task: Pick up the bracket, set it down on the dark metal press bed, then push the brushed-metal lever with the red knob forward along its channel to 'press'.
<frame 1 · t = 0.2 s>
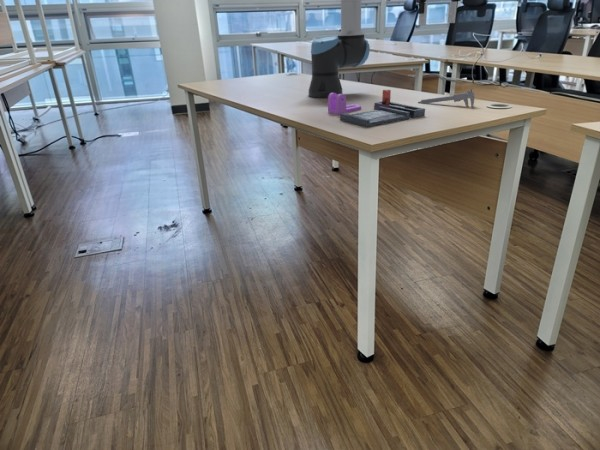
hand: (436, 23, 143), 28 cm above the table, fingers open, 13 cm apart
lever: (392, 100, 149), point 4 cm above the table, slide at 0.0 cm
caliper: (444, 105, 158), on the table
bracket: (346, 111, 155), on the table
press bed: (374, 119, 140), on the table
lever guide: (398, 112, 149), on the table
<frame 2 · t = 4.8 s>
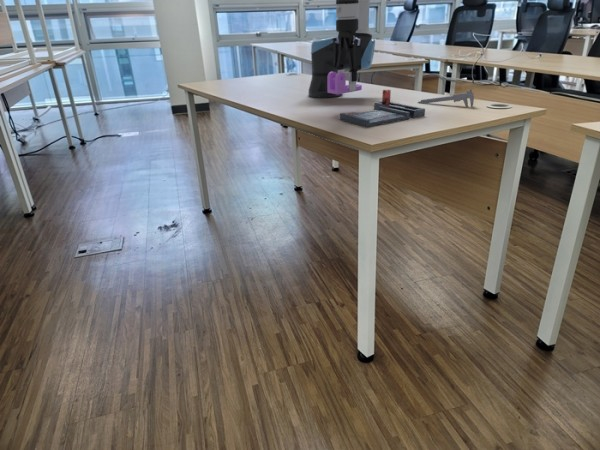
hand: (346, 89, 152), 7 cm above the table, fingers closed on bracket, 6 cm apart
bracket: (346, 91, 153), point 7 cm above the table, touching gripper
everything else where it was.
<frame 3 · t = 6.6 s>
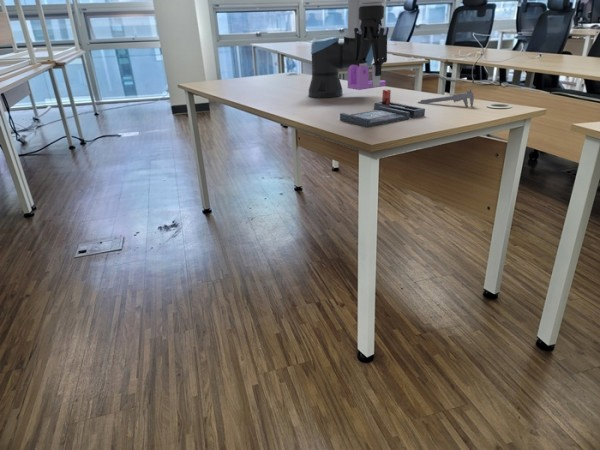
hand: (369, 85, 136), 11 cm above the table, fingers closed on bracket, 6 cm apart
bracket: (368, 87, 137), point 10 cm above the table, touching gripper
everything else where it was.
when the fingers open (2 cm above the table, at t = 8.4 s): bracket stays where it is, resting on press bed.
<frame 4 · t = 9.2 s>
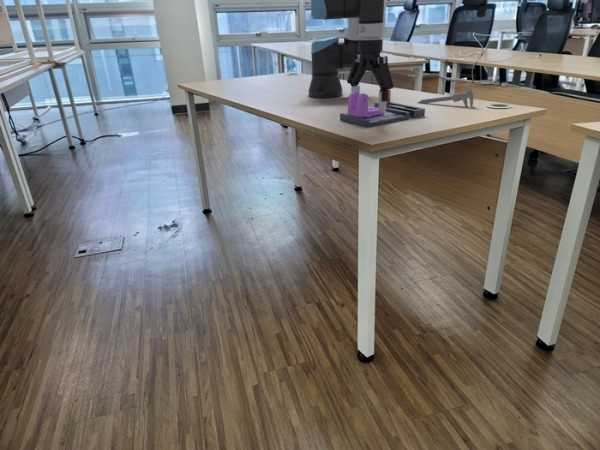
hand: (368, 108, 140), 3 cm above the table, fingers open, 13 cm apart
bracket: (367, 114, 140), point 2 cm above the table, touching press bed
everything else where it was.
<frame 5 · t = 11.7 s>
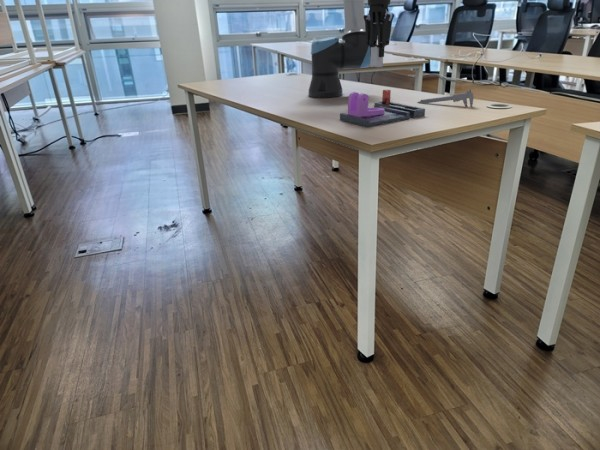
hand: (376, 66, 152), 14 cm above the table, fingers open, 2 cm apart
nothing on the table moved.
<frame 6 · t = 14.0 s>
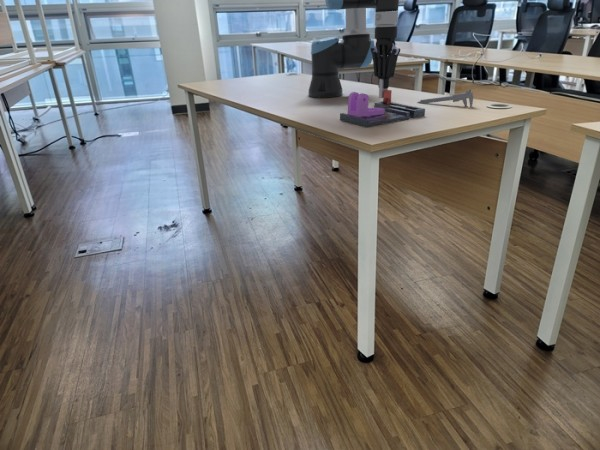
hand: (382, 97, 153), 4 cm above the table, fingers closed
lever: (393, 100, 149), point 4 cm above the table, slide at 0.5 cm, touching gripper
everything else where it was.
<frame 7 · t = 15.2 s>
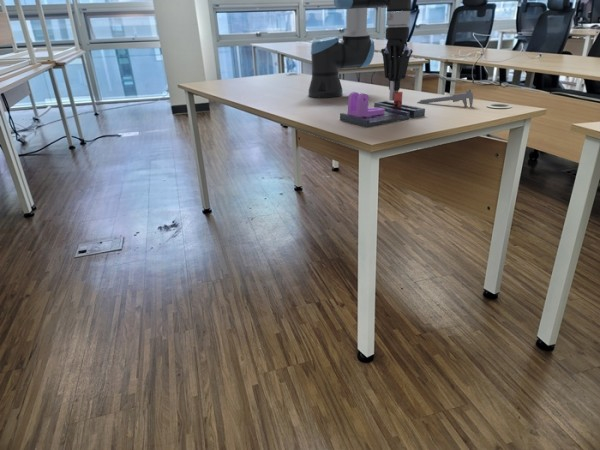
hand: (393, 99, 149), 4 cm above the table, fingers closed
lever: (405, 102, 145), point 4 cm above the table, slide at 6.0 cm, touching gripper
everything else where it was.
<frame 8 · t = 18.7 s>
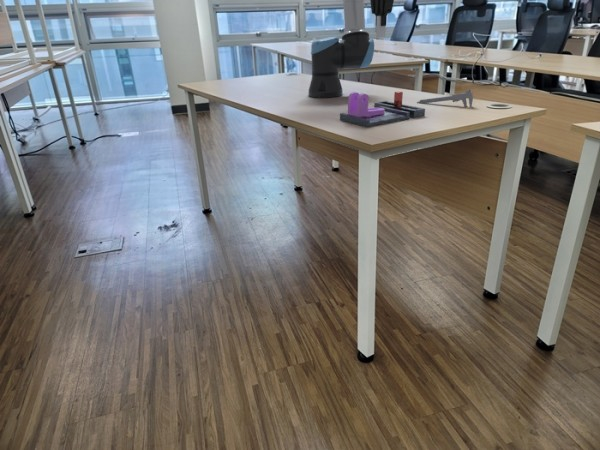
hand: (380, 36, 146), 24 cm above the table, fingers closed
lever: (405, 102, 144), point 4 cm above the table, slide at 6.1 cm
everything else where it was.
at the end: bracket inside the target area on the press bed (2.2 cm from its centre), point 1.6 cm above the press bed's base; bracket tilted 4°; lever slide at 6.1 cm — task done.
